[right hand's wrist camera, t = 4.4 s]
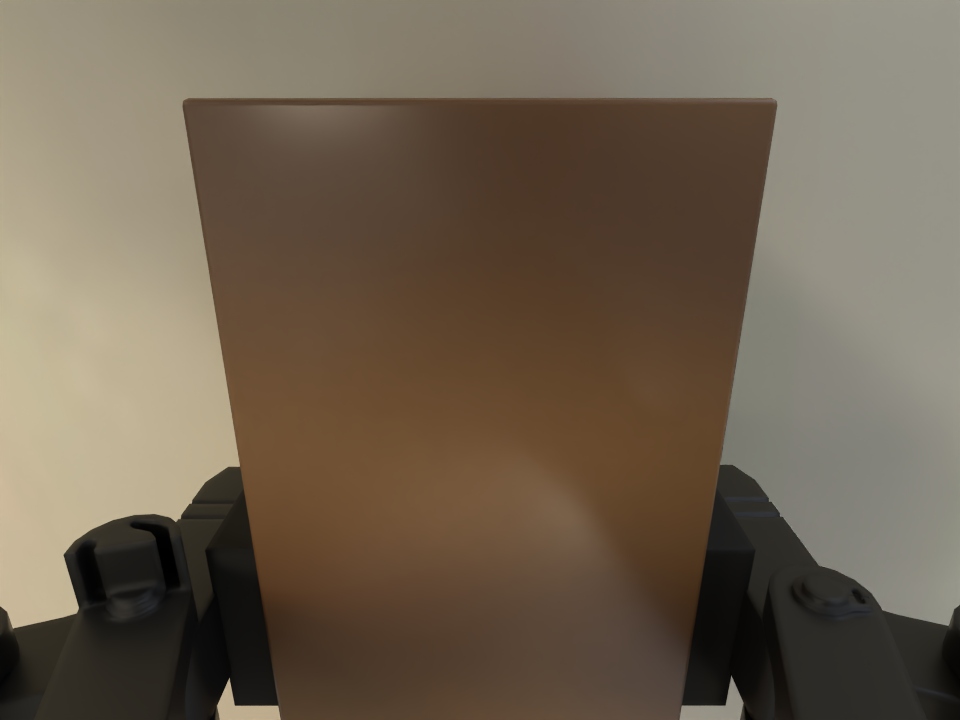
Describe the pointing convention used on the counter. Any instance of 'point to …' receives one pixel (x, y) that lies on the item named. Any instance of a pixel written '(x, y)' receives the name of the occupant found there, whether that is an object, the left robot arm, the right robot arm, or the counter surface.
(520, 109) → the bar
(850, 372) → the counter surface
